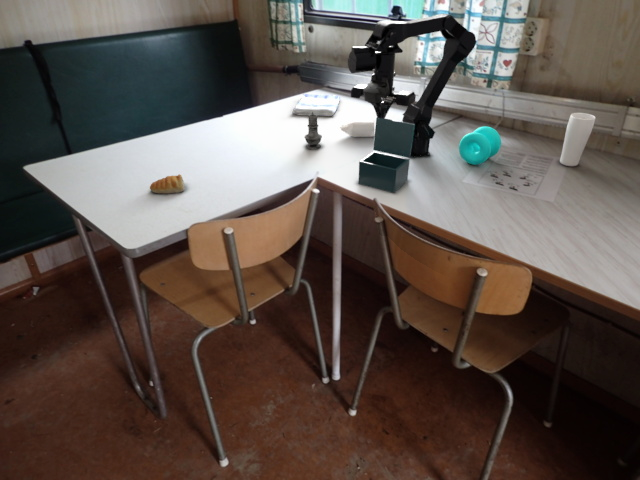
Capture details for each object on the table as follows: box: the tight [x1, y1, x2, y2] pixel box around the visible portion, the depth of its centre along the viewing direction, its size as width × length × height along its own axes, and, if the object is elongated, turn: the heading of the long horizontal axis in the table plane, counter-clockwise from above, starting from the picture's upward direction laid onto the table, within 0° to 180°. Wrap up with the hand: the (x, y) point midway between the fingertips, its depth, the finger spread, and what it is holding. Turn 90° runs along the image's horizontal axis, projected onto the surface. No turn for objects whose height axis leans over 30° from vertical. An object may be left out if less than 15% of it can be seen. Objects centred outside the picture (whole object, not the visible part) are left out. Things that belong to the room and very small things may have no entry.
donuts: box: [458, 125, 502, 166], centre depth 142 cm, size 10×10×10 cm
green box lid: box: [372, 116, 415, 159], centre depth 129 cm, size 9×11×1 cm
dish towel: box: [291, 93, 341, 117], centre depth 193 cm, size 17×24×3 cm
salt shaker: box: [304, 112, 323, 150], centre depth 153 cm, size 6×6×12 cm
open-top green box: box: [357, 150, 410, 194], centre depth 131 cm, size 9×11×7 cm
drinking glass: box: [559, 112, 597, 167], centre depth 138 cm, size 7×7×15 cm
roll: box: [339, 120, 375, 138], centre depth 163 cm, size 6×12×6 cm, turn 90°
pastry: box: [149, 173, 185, 195], centre depth 129 cm, size 9×7×4 cm
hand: (380, 123), depth 140 cm, fingers closed
